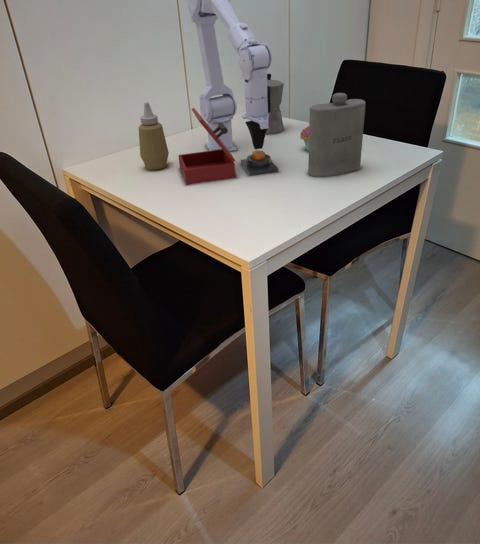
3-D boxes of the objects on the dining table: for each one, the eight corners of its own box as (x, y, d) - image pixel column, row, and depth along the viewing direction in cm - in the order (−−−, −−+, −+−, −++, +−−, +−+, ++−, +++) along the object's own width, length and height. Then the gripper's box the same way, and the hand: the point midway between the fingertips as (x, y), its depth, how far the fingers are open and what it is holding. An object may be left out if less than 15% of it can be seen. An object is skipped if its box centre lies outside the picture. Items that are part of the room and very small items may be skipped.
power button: (250, 157, 135) (250, 151, 134) (263, 155, 135) (262, 149, 134) (253, 161, 132) (253, 155, 131) (266, 160, 132) (266, 153, 132)
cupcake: (330, 153, 141) (332, 112, 135) (301, 155, 142) (301, 113, 135) (326, 144, 148) (328, 104, 142) (298, 145, 149) (299, 105, 142)
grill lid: (199, 121, 120) (211, 110, 119) (191, 109, 130) (203, 98, 129) (233, 162, 127) (245, 152, 127) (223, 148, 138) (234, 138, 137)
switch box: (240, 163, 138) (240, 153, 137) (267, 159, 140) (267, 149, 138) (249, 176, 130) (249, 165, 129) (277, 172, 132) (277, 161, 130)
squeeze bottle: (165, 172, 136) (155, 106, 126) (138, 171, 138) (126, 106, 128) (174, 161, 143) (165, 99, 133) (148, 161, 144) (138, 99, 135)
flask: (314, 179, 126) (317, 100, 115) (305, 172, 130) (306, 95, 120) (365, 169, 129) (372, 92, 119) (354, 162, 134) (360, 87, 123)
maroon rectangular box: (186, 185, 128) (184, 170, 125) (180, 168, 138) (178, 154, 136) (235, 177, 130) (234, 163, 128) (225, 162, 140) (224, 148, 138)
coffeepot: (257, 124, 170) (255, 70, 160) (284, 123, 168) (284, 68, 159) (254, 138, 157) (252, 80, 147) (283, 138, 156) (283, 79, 146)
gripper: (234, 92, 130) (237, 142, 137) (248, 105, 118) (250, 158, 125) (260, 89, 131) (261, 138, 138) (276, 101, 119) (276, 155, 127)
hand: (258, 148), depth 132 cm, fingers closed
